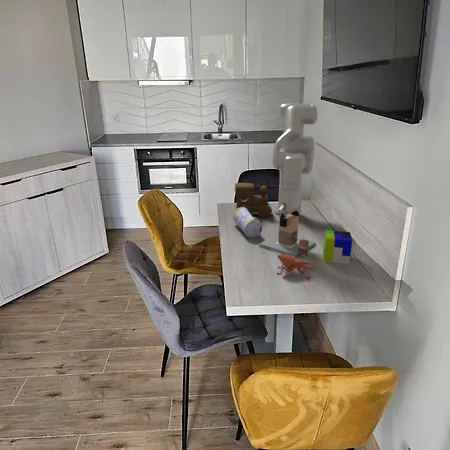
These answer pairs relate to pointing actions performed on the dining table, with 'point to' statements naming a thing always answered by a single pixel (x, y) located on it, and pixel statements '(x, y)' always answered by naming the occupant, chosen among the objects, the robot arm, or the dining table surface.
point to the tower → (303, 247)
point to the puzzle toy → (337, 246)
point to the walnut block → (287, 237)
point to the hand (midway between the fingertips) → (289, 223)
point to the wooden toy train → (253, 199)
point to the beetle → (293, 264)
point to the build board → (283, 246)
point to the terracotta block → (290, 224)
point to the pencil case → (247, 222)
